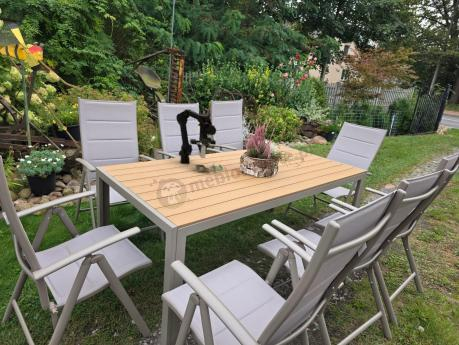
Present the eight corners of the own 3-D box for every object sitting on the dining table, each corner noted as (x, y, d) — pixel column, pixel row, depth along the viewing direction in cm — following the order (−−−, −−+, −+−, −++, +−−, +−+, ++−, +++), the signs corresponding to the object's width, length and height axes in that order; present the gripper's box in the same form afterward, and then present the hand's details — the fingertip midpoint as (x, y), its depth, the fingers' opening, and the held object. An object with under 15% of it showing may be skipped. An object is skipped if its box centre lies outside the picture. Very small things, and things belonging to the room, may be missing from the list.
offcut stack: (198, 173, 219) (198, 170, 218) (197, 171, 221) (198, 168, 221) (209, 173, 220) (209, 170, 220) (208, 172, 223) (208, 169, 222)
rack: (198, 171, 222) (199, 169, 222) (195, 166, 232) (195, 164, 231) (206, 170, 224) (206, 169, 224) (203, 166, 234) (203, 164, 233)
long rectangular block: (201, 157, 222) (201, 146, 219) (199, 155, 227) (199, 144, 225) (204, 158, 223) (205, 146, 220) (202, 155, 228) (203, 144, 226)
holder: (214, 170, 227) (214, 167, 226) (211, 166, 235) (211, 163, 234) (223, 170, 229) (224, 167, 229) (220, 166, 238) (220, 163, 237)
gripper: (193, 134, 209) (192, 155, 214) (218, 135, 215) (216, 155, 220) (190, 131, 219) (189, 151, 224) (214, 132, 225) (213, 151, 230)
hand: (202, 152), depth 224 cm, fingers closed on long rectangular block, 3 cm apart
